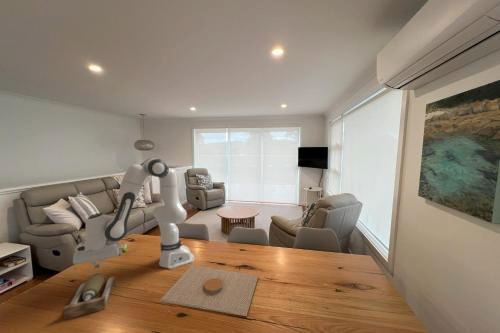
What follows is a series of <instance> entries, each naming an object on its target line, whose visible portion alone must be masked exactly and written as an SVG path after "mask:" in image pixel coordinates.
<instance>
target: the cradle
mask: <svg viewBox="0 0 500 333" xmlns="http://www.w3.org/2000/svg"><path fill="white" fill-rule="evenodd" d="M114 282H115V277H114V276H113V277H109V278H108V279H107V282H106V285H105V288H104V290H103V293H102V295H101V297H97V298H96V297H95V298H93V299H92V300H88V301H84V300H83V301H82V299H83V296H82V293H83V290H84V288H85V285H86V282H84V283H81V284H80V286H79V287H78V289H77V291H76V292H75V294H74V296H73V298H72V299H71V302H70V303H69V304H67V305H65V306H64V307H63V317H64V320H68V319H72V318H76V317H79V316H83V315H87V314H91V313H95V312H99V311H102V310H106V307H107V305H108V304H107V303H108V302H109V298H110V294H111V292H112V289H113V287H114Z"/></svg>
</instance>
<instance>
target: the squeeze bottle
mask: <svg viewBox="0 0 500 333" xmlns="http://www.w3.org/2000/svg"><path fill="white" fill-rule="evenodd" d="M85 283H86V285H85V288H84V290H83V293H82V301H83V302H84V301H88V300H92V299H95V298H96V296H98V294H99V293H100V290H101V289H102V287H103V285H104V284H105V276H104V274H103V273H102V272H96V273H94V274H92V275H91V276H90V277H89V278H88V279H87V280H86V282H85Z"/></svg>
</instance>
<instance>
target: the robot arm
mask: <svg viewBox="0 0 500 333" xmlns="http://www.w3.org/2000/svg"><path fill="white" fill-rule="evenodd" d="M150 176H151V177H157V178H158V181H159V196H160V197H159V198H160V200H161V201H162V202H163V203H161V204H157V205H156V206H155V207H154V208H153V210H152V211H153V212H152V215H153V217H154V218H155V219H156V221H157V224H158V227H159V229H160V238H161V239H160V240H161V241H160V257H159V258H160V259H159V262H158V265H159V267H162V268H167V269H169V270H173V269H177V268H178V267H182V266H184V265H187V264H191V263H193V262H194V260H195V256H194V254H193V253H192V252H191V250H190V248H189V247H188V246H186V245H184V243H183V240H182V239H181V238H179V237H180V234H179V233H180V232H179V228H178V226H177V224H178V225H179V224H183V223H184V222H185V221H186V219H187V216H188V214H187V210H186V209H185V208H184V207H183V205H182V203H181V201H180V197H179V189H178V188H179V187H178V186H179V185H178V176H177V172H176V170H175V169H174V168H170V167H168V166H167V164H166V162H165V161H164V160H162V159H159V158H156V157H154V158H148V159H146V160H144V161H143V162H142V163H141V164H137V163H134V164H131V165H130V166H129V167H128V168H127V170H126V171H125V173H124V175H123V177H122V180H121V183H120V185H119V191H118V192H119V205H118V208H117V211H116V213H115V215H109V214H105V213H103V212H99V213H98V212H97V213H95V214H92V215H90V216H89V217H87V218H86V220H85V221H86V222H85V234H86V238H85V241H82V242H79V244H77V245H76V247H75V248H74V251H75V252H74V253H73V256H72V263H73V265H81V264H84V263H91V265H92V266H93V268H94V269H98V268H102V264H103V261H104V260H108V259H114V258H117V257H119V256H120V255H119V247H120V242H119V241H120V240H122V239H124V238H125V236H127V233H128V220H129V218H130V214H131V212H132V209H133V206H134V203H135V202H136V200H137V198H138V196H139V194H140V192H141V190H142V187H143V186H144V183H145V180H146V178H148V177H150ZM107 240H108V241H107ZM97 261H99V262H98V263H96V262H97Z"/></svg>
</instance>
